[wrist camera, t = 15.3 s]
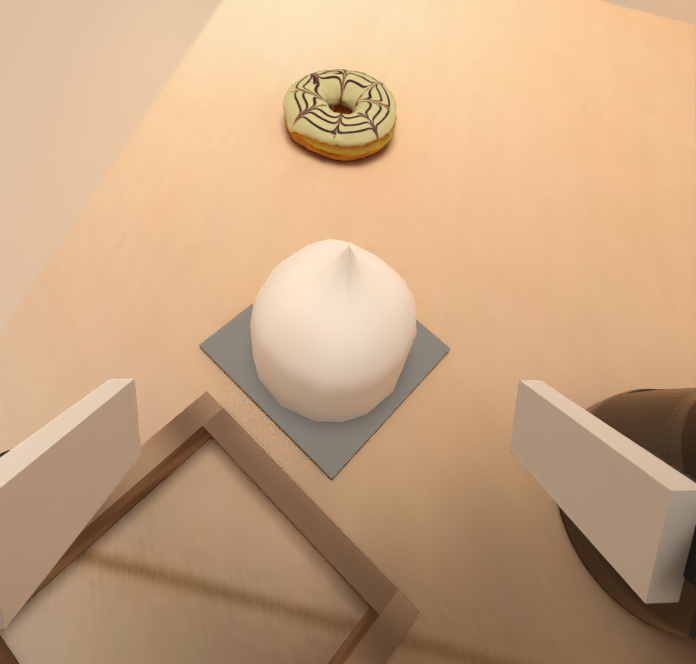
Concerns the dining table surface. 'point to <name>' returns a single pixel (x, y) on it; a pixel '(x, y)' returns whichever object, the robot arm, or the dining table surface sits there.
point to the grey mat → (310, 436)
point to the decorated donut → (340, 114)
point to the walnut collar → (213, 421)
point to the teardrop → (332, 331)
